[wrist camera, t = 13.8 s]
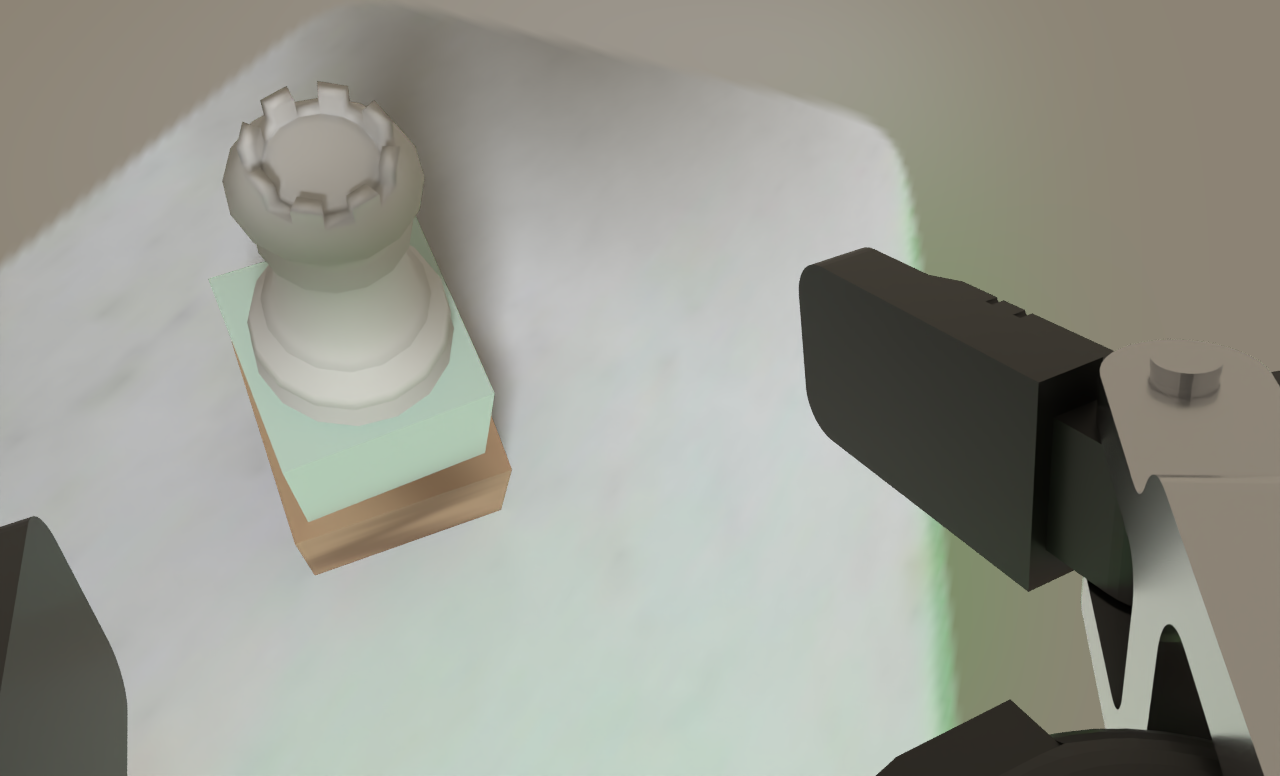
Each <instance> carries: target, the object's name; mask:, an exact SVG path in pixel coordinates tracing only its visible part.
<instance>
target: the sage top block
mask: <svg viewBox="0 0 1280 776" xmlns="http://www.w3.org/2000/svg"><path fill="white" fill-rule="evenodd" d="M409 245H411V246H413V247H415V249H416V250H417V251H418V252H419V253H420V254H421V256H422V257H423V258H424V259H425V260H426V261H427V263H428V264H429V265H430V266H431V267H432V268H433V270H434V271H435V272H436V273H437V274H438V276H439V277H440V279H441V280H442V284H443V287H444V290H445V294H446V297H447V300H448V303H449V307H450V310H451V320H452V324H453V327H454V331H453V338H452V345H451V353H450V360H449V364H448V365H447V367H446V368H445V370H444V372H443V373H442V375H441V376H440V378H439V380H438V381H437V383H436V384H435V386H434V388H433V389H432V391H431V392H430V394H429V395H427V396H426V397H424V398H423V399H422V400H420V401H419V402H417V403H416V404H415V405H413V406H412V407H410V408H409V409H407V410H406V411H405V412H403V413H402V414H400V415H399V416H397V417H393V418H389V419H385V420H381V421H377V422H373V423H369V424H365V425H361V426H352V425H343V424H334V423H325V422H318V421H316V420H314V419H312V418H310V417H308V416H306V415H304V414H302V413H301V412H299V411H297V410H295V409H293V408H291V407H289V406H287V405H285V404H284V403H282V402H281V400H280V399H279V398H278V397H277V395H276V394H275V393H274V392H273V390H272V389H271V388H270V387H269V385H268V384H267V383H266V382H265V380H264V379H263V378H262V377H261V375H260V374H259V372H258V368H257V364H256V359H255V355H254V351H253V347H252V343H251V339H250V338H251V336H250V332H249V328H248V324H247V320H248V316H249V311H250V306H251V302H252V297H253V293H254V288H255V285H256V281H257V279H258V278H259V277H260V275H261V274H262V273H263V271H264V270H265V269H266V267H267V266H268V263H267V262H266V261H265V262H261V263H258V264H255V265H252V266H248V267H245V268H242V269H239V270H236V271H232V272H229V273H226V274H223V275H220V276H216V277H213V278H210V279H208V280H209V282H210V285H211V287H212V290H213V293H214V295H215V298H216V301H217V303H218V306H219V308H220V311H221V314H222V316H223V319H224V321H225V324H226V327H227V329H228V332H229V335H230V337H231V340H232V342H233V345H234V348H235V350H236V353H237V355H238V358H239V361H240V363H241V366H242V368H243V371H244V374H245V376H246V379H247V382H248V384H249V387H250V389H251V392H252V395H253V397H254V400H255V402H256V405H257V408H258V410H259V413H260V416H261V418H262V421H263V423H264V426H265V429H266V431H267V434H268V436H269V439H270V442H271V444H272V447H273V450H274V452H275V455H276V457H277V460H278V463H279V465H280V468H281V470H282V473H283V475H284V477H285V479H286V481H287V483H288V485H289V486H290V488H291V490H292V492H293V494H294V496H295V498H296V500H297V502H298V504H299V505H300V507H301V509H302V511H303V513H304V515H305V517H306V519H307V521H308V522H310V521H313V520H316V519H318V518H321V517H323V516H326V515H328V514H331V513H333V512H336V511H338V510H341V509H344V508H346V507H349V506H351V505H354V504H356V503H359V502H361V501H364V500H366V499H369V498H372V497H374V496H377V495H379V494H382V493H384V492H387V491H389V490H392V489H394V488H397V487H399V486H402V485H405V484H407V483H410V482H412V481H415V480H417V479H420V478H422V477H425V476H427V475H430V474H432V473H435V472H438V471H440V470H443V469H445V468H448V467H450V466H453V465H455V464H458V463H460V462H463V461H466V460H468V459H471V458H473V457H476V456H478V455H481V454H483V453H485V450H486V444H487V438H488V432H489V425H490V419H491V413H492V407H493V401H494V395H495V393H494V391H493V388H492V386H491V384H490V382H489V379H488V377H487V375H486V373H485V370H484V368H483V366H482V364H481V361H480V359H479V357H478V355H477V352H476V350H475V348H474V346H473V343H472V341H471V339H470V337H469V335H468V332H467V330H466V328H465V326H464V323H463V321H462V319H461V317H460V314H459V312H458V310H457V308H456V305H455V303H454V301H453V299H452V296H451V294H450V292H449V290H448V287H447V285H446V283H445V281H444V278H443V276H442V274H441V272H440V269H439V267H438V265H437V263H436V260H435V258H434V256H433V254H432V251H431V249H430V247H429V245H428V242H427V240H426V238H425V236H424V233H423V231H422V229H421V227H420V224H419V222H418V220H417V218H416V216H415V217H414V219H413V226H412V232H411V238H410V244H409Z"/></svg>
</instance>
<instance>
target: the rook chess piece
mask: <svg viewBox="0 0 1280 776" xmlns="http://www.w3.org/2000/svg"><path fill="white" fill-rule="evenodd" d="M317 87H318V98H316V99H310V100H304V101H298V102H294V99H293V97H292V95H291V93H290V91H289V90H288V88H287V86H286V87H284V88H282V89H280V90H278V91H276V92H275V93H273V94H271V95H269V96H267V97H265V98H264V99H262V100H260V101H261V105H262V109H263V113H264V115H263V116H261V117H260V118H258V119H256V120H254V121H252V123H251V124H247V123H244V122H242V126H241V130H240V135H239V139H238V140H237V141H236V142H235V143H234V145H233V146H232V147H231V148H230V152H229V156H228V160H227V164H226V169H225V173H224V177H223V181H222V182H223V186H224V190H225V194H226V198H227V202H228V206H229V210H230V215H231V216H232V217H233V218H234V219H235V221H236V222H237V223H238V224H239V225H240V227H241V228H242V229H243V230H244V232H245V233H246V234H247V235H248V236H249V238H250V239H251V240H252V241H253V242H254V243H255V244H257V248H258V252H259V254H260V255H261V256H262V257H263V258H264V260H265V261H266V262H267V263H268V266H267V267H266V269H265V270H264V271H263V273H262V274H261V275H260V277H259V278H258V279H257V281H256V285H255V288H254V293H253V297H252V302H251V306H250V311H249V316H248V320H247V324H248V328H249V332H250V336H251V338H250V339H251V343H252V347H253V351H254V355H255V359H256V364H257V368H258V372H259V374H260V375H261V377H262V378H263V379H264V380H265V382H266V383H267V384H268V385H269V387H270V388H271V389H272V390H273V392H274V393H275V394H276V395H277V397H278V398H279V399H280V400H281V402H282V403H284V404H285V405H287V406H289V407H291V408H293V409H295V410H297V411H299V412H301V413H302V414H304V415H306V416H308V417H310V418H312V419H314V420H316V421H318V422H325V423H334V424H343V425H352V426H361V425H365V424H369V423H373V422H377V421H381V420H385V419H389V418H393V417H397V416H399V415H400V414H402V413H403V412H405V411H406V410H407V409H409V408H410V407H412V406H413V405H415V404H416V403H417V402H419V401H420V400H422V399H423V398H424V397H426V396H427V395H429V394H430V392H431V391H432V389H433V388H434V386H435V384H436V383H437V381H438V380H439V378H440V376H441V375H442V373H443V372H444V370H445V368H446V367H447V365H448V364H449V360H450V353H451V345H452V338H453V331H454V327H453V324H452V320H451V310H450V307H449V303H448V300H447V297H446V294H445V290H444V287H443V284H442V280H441V279H440V277H439V276H438V274H437V273H436V272H435V271H434V270H433V268H432V267H431V266H430V265H429V264H428V263H427V261H426V260H425V259H424V258H423V257H422V256H421V254H420V253H419V252H418V251H417V250H416V249H415V247H413V246H411V245H409V244H410V238H411V232H412V226H413V219H414V217H415V216H416V214H417V213H418V212H419V210H420V205H421V198H422V192H423V186H424V180H425V177H424V173H423V170H422V167H421V164H420V160H419V157H418V154H417V151H416V147H415V146H414V144H413V143H412V142H411V141H410V140H409V139H408V138H407V136H406V135H405V134H404V133H403V132H402V131H401V130H400V128H399V127H398V126H397V125H396V124H395V123H394V122H393V120H391V118H390V117H389V116H388V115H387V114H386V113H385V112H384V110H383V109H382V108H381V107H380V106H379V105H378V104H377V102H376V101H375V100H374V101H373V102H371V103H370V104H369V105H368V106H367V107H366V106H364V105H362V104H360V103H355V102H350V98H349V90H348V86H345V85H338V84H332V83H326V82H320V81H317Z"/></svg>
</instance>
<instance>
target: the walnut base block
mask: <svg viewBox="0 0 1280 776" xmlns="http://www.w3.org/2000/svg"><path fill="white" fill-rule="evenodd" d="M232 345H233V342H232ZM233 348H234V345H233ZM234 351H235V354H236V357H237V361H238V364H239V367H240V370H241V373H242V376H243V380H244V383H245V386H246V389H247V392H248V396H249V399H250V402H251V405H252V408H253V411H254V415H255V418H256V421H257V424H258V427H259V431H260V434H261V437H262V440H263V443H264V446H265V450H266V453H267V456H268V459H269V462H270V466H271V469H272V472H273V475H274V478H275V481H276V485H277V488H278V491H279V494H280V497H281V501H282V504H283V507H284V510H285V513H286V517H287V520H288V523H289V526H290V529H291V532H292V536H293V539H294V542H295V545H296V546H297V548H298V549H299V551H300V552H301V554H302V556H303V557H304V559H305V560H306V562H307V564H308V565H309V567H310V568H311V570H312V572H313V573H314V575H318V574H321V573H323V572H326V571H329V570H332V569H335V568H338V567H340V566H343V565H346V564H349V563H352V562H354V561H357V560H360V559H363V558H366V557H369V556H371V555H374V554H377V553H380V552H383V551H386V550H388V549H391V548H394V547H397V546H400V545H403V544H405V543H408V542H411V541H414V540H417V539H420V538H422V537H425V536H428V535H431V534H434V533H437V532H439V531H442V530H445V529H448V528H451V527H454V526H456V525H459V524H462V523H465V522H468V521H470V520H473V519H476V518H479V517H482V516H485V515H487V514H490V513H493V512H496V511H499V510H501V508H502V504H503V500H504V497H505V493H506V489H507V486H508V482H509V478H510V475H511V471H512V469H511V466H510V464H509V461H508V458H507V456H506V453H505V450H504V448H503V445H502V442H501V440H500V437H499V434H498V432H497V429H496V426H495V424H494V421H493V418H492V416H491V419H490V425H489V432H488V438H487V444H486V450H485V453H483V454H481V455H478V456H476V457H473V458H471V459H468V460H466V461H463V462H460V463H458V464H455V465H453V466H450V467H448V468H445V469H443V470H440V471H438V472H435V473H432V474H430V475H427V476H425V477H422V478H420V479H417V480H415V481H412V482H410V483H407V484H405V485H402V486H399V487H397V488H394V489H392V490H389V491H387V492H384V493H382V494H379V495H377V496H374V497H372V498H369V499H366V500H364V501H361V502H359V503H356V504H354V505H351V506H349V507H346V508H344V509H341V510H338V511H336V512H333V513H331V514H328V515H326V516H323V517H321V518H318V519H316V520H313V521H310V522H308V521H307V519H306V517H305V515H304V513H303V511H302V509H301V507H300V505H299V504H298V502H297V500H296V498H295V496H294V494H293V492H292V490H291V488H290V486H289V485H288V483H287V481H286V479H285V477H284V475H283V473H282V470H281V468H280V465H279V463H278V460H277V457H276V455H275V452H274V450H273V447H272V444H271V442H270V439H269V436H268V434H267V431H266V429H265V426H264V423H263V421H262V418H261V416H260V413H259V410H258V408H257V405H256V402H255V400H254V397H253V395H252V392H251V389H250V387H249V384H248V382H247V379H246V376H245V374H244V371H243V368H242V366H241V363H240V361H239V358H238V355H237V353H236V350H235V348H234Z"/></svg>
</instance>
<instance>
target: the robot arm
mask: <svg viewBox="0 0 1280 776" xmlns="http://www.w3.org/2000/svg"><path fill="white" fill-rule="evenodd" d="M799 300H800V313H801V326H802V340H803V353H804V366H805V379H806V390H807V396H808V400H809V404H810V407H811V409H812V412H813V414H814V417H815V419H816V421H817V422H818V424H819V426H820V427H821V429H822V430H823V432H824V433H825V434H826V435H827V436H828V437H829V438H830V439H831V440H832V441H834V442H835V443H836V444H838V445H839V446H840V447H841V448H843V449H844V450H845V451H847V452H848V453H849V454H850V455H852V456H853V457H854V458H856V459H857V460H858V461H860V462H861V463H862V464H863V465H865V466H866V467H867V468H869V469H870V470H871V471H873V472H874V473H875V474H876V475H878V476H879V477H880V478H882V479H883V480H884V481H885V482H887V483H888V484H889V485H891V486H892V487H893V488H895V489H896V490H897V491H898V492H900V493H901V494H902V495H904V496H905V497H906V498H908V499H909V500H910V501H911V502H913V503H914V504H915V505H917V506H918V507H919V508H920V509H922V510H923V511H924V512H926V513H927V514H928V515H930V516H931V517H932V518H933V519H935V520H936V521H937V522H939V523H940V524H941V525H943V526H944V527H945V528H947V529H948V530H949V531H950V532H952V533H953V534H954V535H955V536H957V537H958V538H959V539H961V540H962V541H963V542H965V543H966V544H967V545H968V546H970V547H971V548H972V549H974V550H975V551H976V552H978V553H979V554H980V555H981V556H983V557H984V558H985V559H987V560H988V561H989V562H990V563H992V564H993V565H994V566H996V567H997V568H998V569H1000V570H1001V571H1002V572H1003V573H1005V574H1006V575H1007V576H1009V577H1010V578H1011V579H1013V580H1014V581H1015V582H1016V583H1018V584H1019V585H1020V586H1022V587H1023V588H1024V589H1026V590H1027V591H1028V592H1029V591H1031V590H1033V589H1035V588H1037V587H1040V586H1042V585H1044V584H1046V583H1048V582H1050V581H1052V580H1054V579H1057V578H1059V577H1061V576H1063V575H1065V574H1067V573H1069V572H1071V571H1073V570H1075V571H1076V572H1077V573H1079V574H1080V575H1082V576H1083V582H1082V594H1081V609H1082V614H1083V619H1084V624H1085V629H1086V633H1087V638H1088V644H1089V649H1090V654H1091V659H1092V664H1093V669H1094V674H1095V679H1096V684H1097V689H1098V693H1099V699H1100V704H1101V709H1102V714H1103V719H1104V724H1105V729H1089V730H1081V731H1071V732H1062V733H1056V734H1051V735H1049V734H1048V733H1047V732H1045V731H1044V730H1043V729H1042V728H1041V727H1040V726H1039V725H1038V724H1037V723H1035V722H1034V721H1033V720H1032V719H1031V718H1030V717H1029V716H1028V715H1027V714H1026V713H1024V712H1023V711H1022V710H1021V709H1020V708H1019V707H1018V706H1017V705H1016V704H1015V703H1014V702H1012V701H1011V700H1008V701H1006V702H1004V703H1002V704H1000V705H998V706H996V707H994V708H992V709H991V710H988V711H986V712H984V713H983V714H980V715H979V716H977V717H974V718H973V719H971V720H969V721H967V722H965V723H963V724H961V725H959V726H957V727H955V728H953V729H951V730H949V731H947V732H945V733H943V734H941V735H939V736H937V737H935V738H933V739H931V740H929V741H927V742H925V743H923V744H921V745H919V746H917V747H915V748H913V749H911V750H909V751H907V752H905V753H903V754H901V755H899V756H897V757H896V758H895V759H894V760H893V761H892V762H890V763H889V764H888V765H887V766H886V767H885V768H884V769H883V770H882V771H881V772H879V773H878V774H877V775H876V776H1280V371H1276V372H1270V371H1269V369H1268V368H1267V367H1266V366H1265V365H1264V364H1262V363H1261V362H1260V361H1259V360H1257V359H1255V358H1254V357H1252V356H1250V355H1248V354H1246V353H1243V352H1241V351H1239V350H1236V349H1233V348H1230V347H1227V346H1223V345H1218V344H1215V343H1210V342H1203V341H1197V340H1185V339H1162V340H1151V341H1144V342H1139V343H1135V344H1130V345H1128V346H1125V347H1122V348H1120V349H1118V350H1116V351H1112V350H1111V349H1108V348H1106V347H1104V346H1102V345H1100V344H1097V343H1095V342H1093V341H1091V340H1089V339H1087V338H1084V337H1082V336H1080V335H1078V334H1076V333H1074V332H1071V331H1069V330H1067V329H1065V328H1063V327H1060V326H1058V325H1056V324H1054V323H1052V322H1050V321H1047V320H1045V319H1043V318H1041V317H1039V316H1036V315H1034V314H1030V315H1026V313H1025V310H1023V309H1021V308H1019V307H1017V306H1015V305H1013V304H1010V303H1008V302H1006V301H1001V302H998V300H997V297H995V296H993V295H991V294H989V293H986V292H984V291H982V290H980V289H978V288H976V287H973V286H971V285H969V284H967V283H965V282H962V281H957V280H952V279H946V278H942V277H937V276H931V275H928V274H926V273H923V272H921V271H919V270H917V269H915V268H913V267H911V266H909V265H907V264H904V263H902V262H900V261H898V260H896V259H894V258H892V257H890V256H887V255H885V254H883V253H881V252H879V251H877V250H875V249H872V248H866V247H865V248H861V249H858V250H855V251H852V252H849V253H846V254H843V255H840V256H837V257H834V258H830V259H827V260H824V261H821V262H818V263H815V264H812V265H809V266H807V267H806V268H805V269H804V270H803V272H802V274H801V277H800V281H799ZM0 776H127V699H126V693H125V688H124V683H123V679H122V676H121V672H120V669H119V666H118V663H117V660H116V657H115V655H114V652H113V650H112V648H111V646H110V644H109V641H108V639H107V638H106V636H105V634H104V632H103V630H102V628H101V626H100V624H99V622H98V620H97V618H96V616H95V615H94V613H93V611H92V609H91V607H90V605H89V603H88V601H87V599H86V597H85V595H84V593H83V592H82V590H81V588H80V586H79V584H78V582H77V580H76V578H75V576H74V574H73V572H72V570H71V569H70V567H69V565H68V563H67V561H66V559H65V557H64V555H63V553H62V551H61V549H60V547H59V546H58V544H57V542H56V540H55V538H54V536H53V535H52V533H51V531H50V530H49V528H48V527H47V526H46V524H45V523H44V522H43V521H42V520H41V519H40V518H38V517H35V516H33V517H30V518H27V519H23V520H20V521H17V522H14V523H11V524H8V525H5V526H2V527H0Z"/></svg>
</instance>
